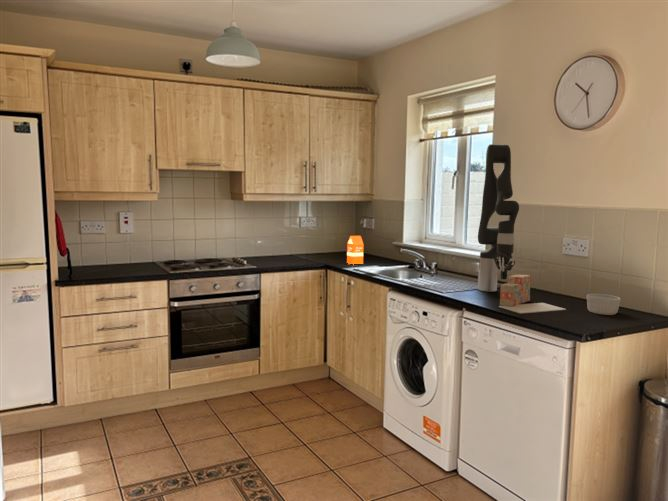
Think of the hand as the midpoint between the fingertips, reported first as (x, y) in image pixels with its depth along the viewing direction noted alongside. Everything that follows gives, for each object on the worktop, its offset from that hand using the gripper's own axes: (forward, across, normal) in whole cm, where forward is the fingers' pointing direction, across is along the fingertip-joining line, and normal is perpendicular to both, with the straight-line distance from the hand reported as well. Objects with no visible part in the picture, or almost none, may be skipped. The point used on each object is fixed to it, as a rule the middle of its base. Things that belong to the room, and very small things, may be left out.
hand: (503, 279), depth 252 cm
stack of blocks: (+10, +9, 0) cm, 13 cm away
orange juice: (+9, -135, -18) cm, 137 cm away
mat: (+10, +20, 0) cm, 22 cm away
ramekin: (+11, +35, +25) cm, 44 cm away
